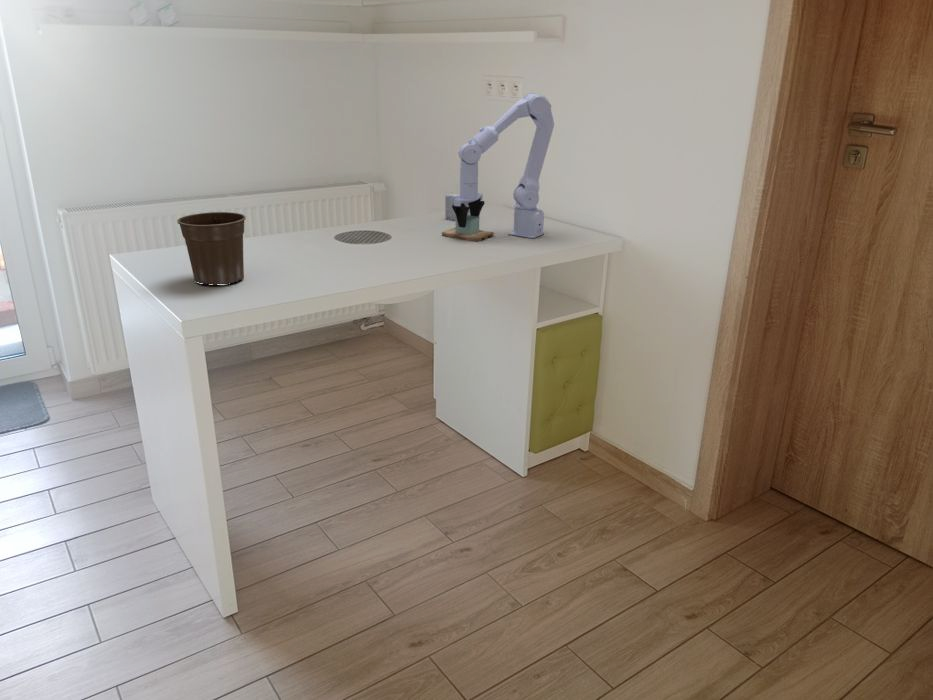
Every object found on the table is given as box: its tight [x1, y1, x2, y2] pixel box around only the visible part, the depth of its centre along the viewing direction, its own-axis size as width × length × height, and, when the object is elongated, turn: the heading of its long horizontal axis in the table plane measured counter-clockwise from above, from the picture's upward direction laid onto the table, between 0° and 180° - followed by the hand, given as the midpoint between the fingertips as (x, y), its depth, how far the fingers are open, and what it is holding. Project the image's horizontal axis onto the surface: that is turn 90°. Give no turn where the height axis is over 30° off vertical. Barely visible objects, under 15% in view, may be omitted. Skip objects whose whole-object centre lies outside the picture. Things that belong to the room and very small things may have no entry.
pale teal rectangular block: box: [455, 215, 480, 235], centre depth 232 cm, size 6×5×5 cm
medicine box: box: [444, 193, 470, 222], centre depth 254 cm, size 8×4×9 cm, turn 58°
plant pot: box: [177, 211, 247, 285], centre depth 180 cm, size 16×16×16 cm
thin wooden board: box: [441, 227, 495, 242], centre depth 233 cm, size 14×10×1 cm
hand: (468, 225), depth 232 cm, fingers open, 7 cm apart
